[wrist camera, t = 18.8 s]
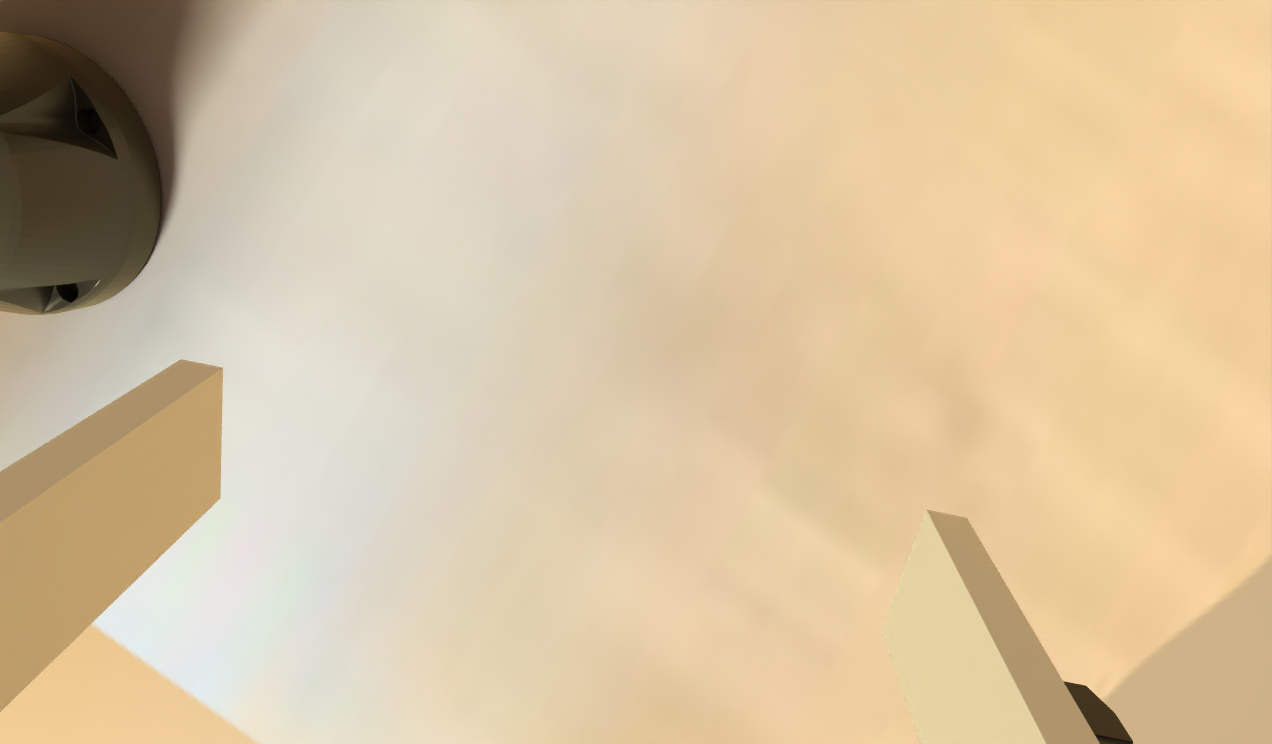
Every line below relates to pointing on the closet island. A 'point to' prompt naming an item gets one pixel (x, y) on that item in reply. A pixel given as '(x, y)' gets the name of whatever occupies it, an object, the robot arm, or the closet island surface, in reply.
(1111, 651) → the closet island surface
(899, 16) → the closet island surface
